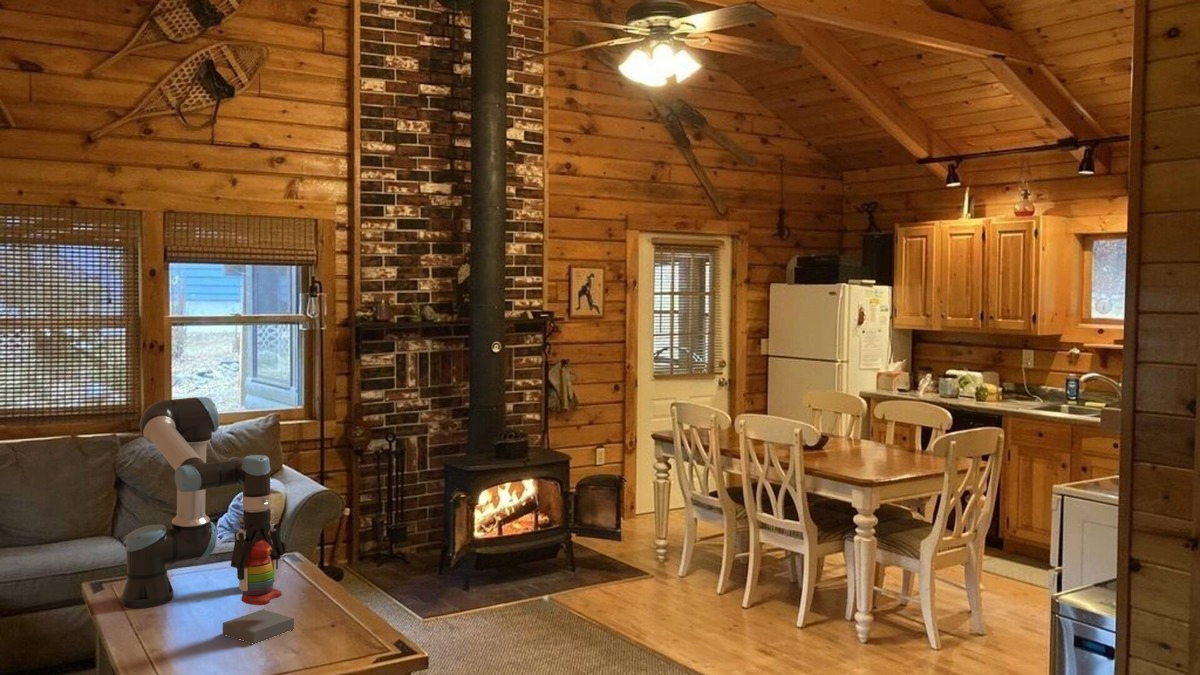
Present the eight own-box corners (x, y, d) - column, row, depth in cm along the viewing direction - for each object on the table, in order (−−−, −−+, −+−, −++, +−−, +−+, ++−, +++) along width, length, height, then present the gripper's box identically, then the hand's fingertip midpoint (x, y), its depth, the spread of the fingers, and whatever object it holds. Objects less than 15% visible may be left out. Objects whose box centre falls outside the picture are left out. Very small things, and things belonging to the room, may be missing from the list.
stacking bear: (264, 606, 279) (263, 544, 278) (232, 603, 281) (231, 542, 280) (284, 594, 290) (283, 535, 289) (253, 592, 292) (252, 533, 291)
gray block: (222, 636, 284) (222, 622, 284) (263, 622, 296) (262, 609, 295) (254, 646, 276) (253, 632, 276) (294, 631, 288) (293, 618, 288)
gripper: (232, 518, 273) (234, 597, 274) (296, 503, 291) (297, 578, 292) (215, 515, 277) (217, 593, 278) (279, 500, 295) (280, 574, 296)
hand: (258, 585), depth 285 cm, fingers closed on stacking bear, 9 cm apart
